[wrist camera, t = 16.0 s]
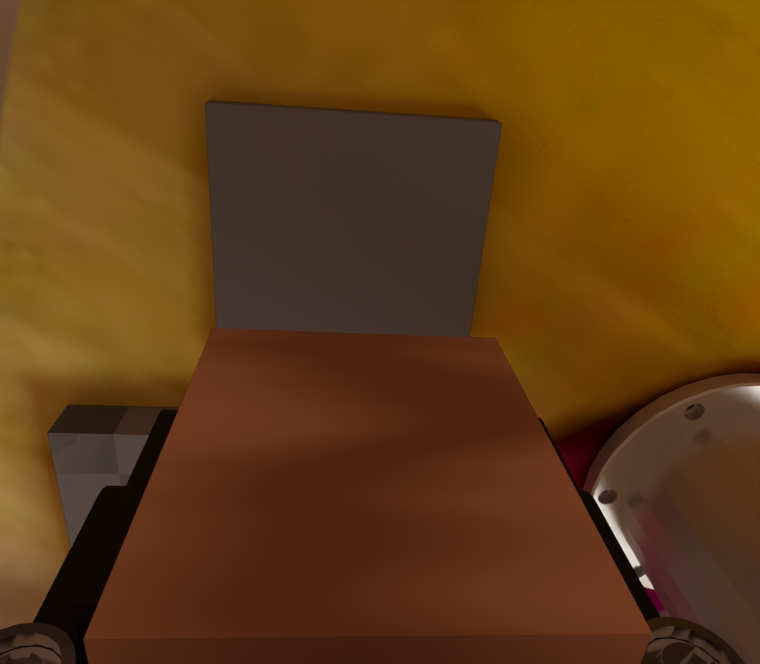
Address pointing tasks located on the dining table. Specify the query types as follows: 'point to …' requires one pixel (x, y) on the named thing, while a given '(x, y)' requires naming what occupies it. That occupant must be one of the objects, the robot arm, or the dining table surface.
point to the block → (361, 517)
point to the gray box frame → (96, 453)
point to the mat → (347, 218)
